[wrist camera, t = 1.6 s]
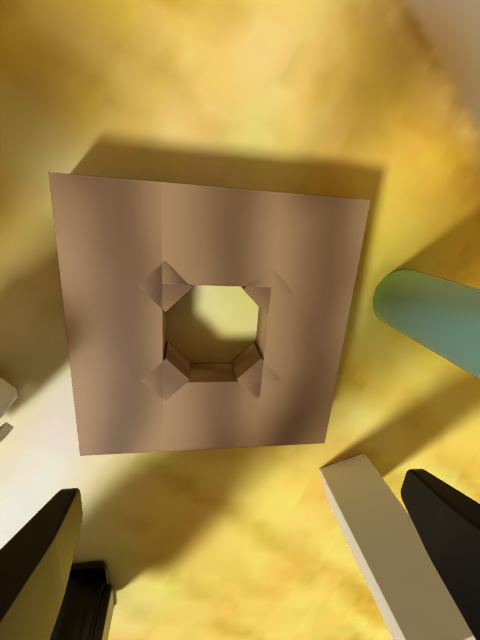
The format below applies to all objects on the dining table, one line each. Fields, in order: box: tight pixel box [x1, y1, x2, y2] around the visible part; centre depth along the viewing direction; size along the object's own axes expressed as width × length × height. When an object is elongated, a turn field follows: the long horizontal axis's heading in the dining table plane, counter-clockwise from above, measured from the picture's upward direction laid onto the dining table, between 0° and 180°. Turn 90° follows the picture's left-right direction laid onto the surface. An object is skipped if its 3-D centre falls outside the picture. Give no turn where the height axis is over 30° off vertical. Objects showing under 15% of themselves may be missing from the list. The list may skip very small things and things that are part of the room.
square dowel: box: [320, 453, 476, 640], centre depth 22 cm, size 4×4×12 cm
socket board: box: [49, 172, 371, 456], centre depth 20 cm, size 16×16×2 cm
